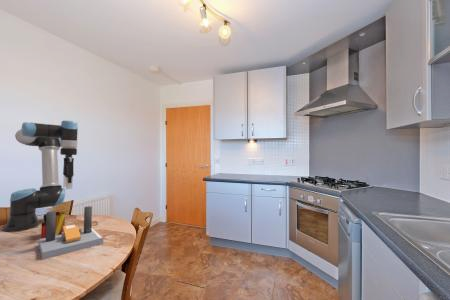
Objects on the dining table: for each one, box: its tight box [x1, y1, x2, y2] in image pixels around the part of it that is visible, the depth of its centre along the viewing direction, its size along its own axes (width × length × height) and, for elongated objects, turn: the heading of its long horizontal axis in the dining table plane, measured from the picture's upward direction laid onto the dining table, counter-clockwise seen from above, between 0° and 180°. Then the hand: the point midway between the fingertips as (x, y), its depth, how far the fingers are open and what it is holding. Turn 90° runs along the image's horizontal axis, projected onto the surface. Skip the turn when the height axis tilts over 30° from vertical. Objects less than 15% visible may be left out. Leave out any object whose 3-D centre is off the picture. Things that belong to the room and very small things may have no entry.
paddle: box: [63, 223, 81, 243], centre depth 108 cm, size 12×6×2 cm, turn 45°
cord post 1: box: [46, 210, 57, 242], centre depth 106 cm, size 4×4×14 cm
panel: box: [38, 227, 104, 260], centre depth 108 cm, size 20×24×7 cm
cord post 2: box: [83, 205, 93, 234], centre depth 117 cm, size 4×4×14 cm
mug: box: [40, 211, 66, 239], centre depth 119 cm, size 10×14×12 cm
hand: (67, 187), depth 119 cm, fingers open, 8 cm apart
